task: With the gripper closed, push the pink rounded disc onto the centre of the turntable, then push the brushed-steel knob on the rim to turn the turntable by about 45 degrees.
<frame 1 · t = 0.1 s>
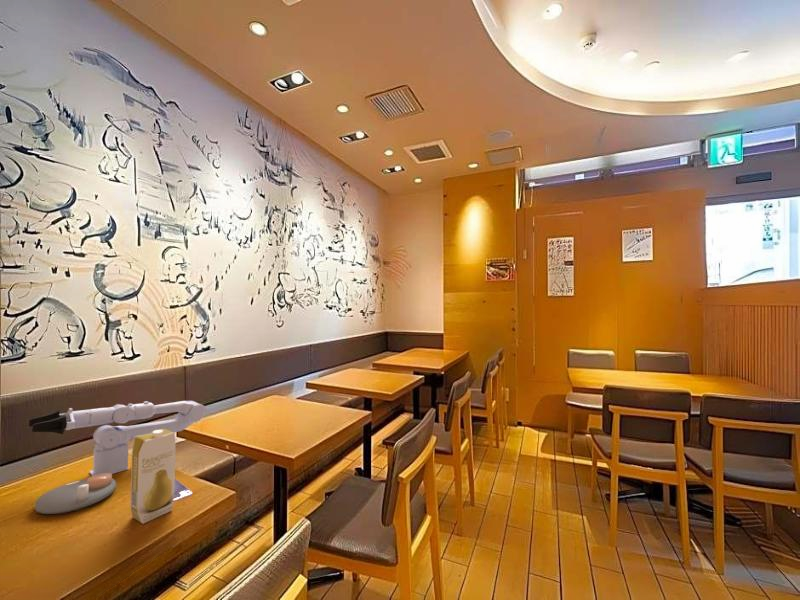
hand: (30, 425, 108), 22 cm above the table, tool horizontal, fingers open, 7 cm apart
mobile phone: (171, 492, 111), on the table
pink rounded disc: (99, 485, 109), point 2 cm above the table, touching turntable
juice carton: (152, 514, 98), on the table
turntable: (78, 487, 105), point 4 cm above the table, hinge at 0.0°, touching pink rounded disc
turntable base: (77, 499, 105), on the table
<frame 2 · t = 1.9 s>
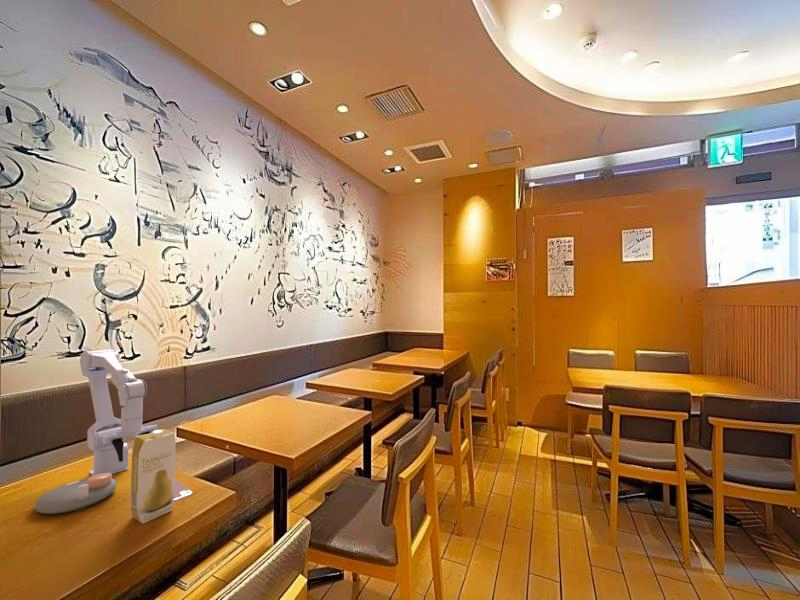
hand: (130, 458, 116), 8 cm above the table, tool pointing down, fingers open, 5 cm apart
nothing on the table moved.
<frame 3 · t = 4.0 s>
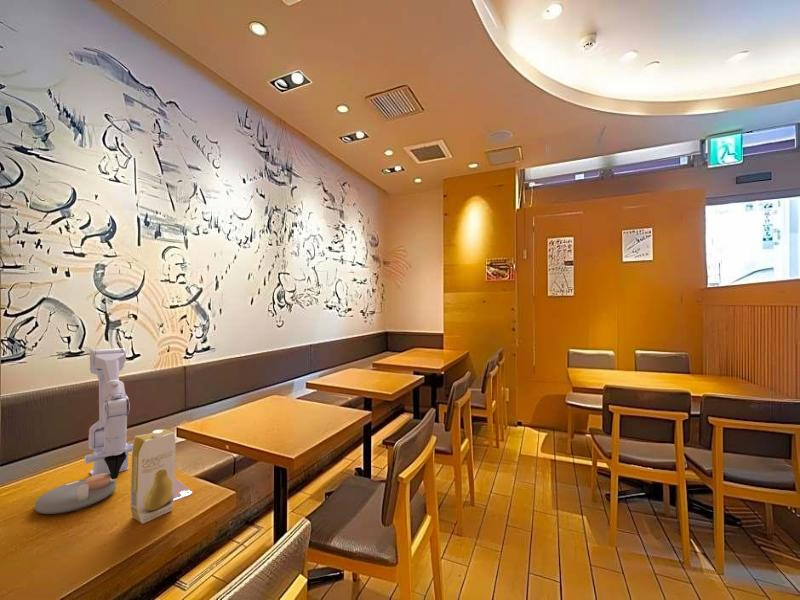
hand: (114, 477, 112), 3 cm above the table, tool pointing down, fingers closed
pink rounded disc: (97, 485, 109), point 3 cm above the table, touching gripper
turntable: (78, 487, 105), point 4 cm above the table, hinge at 0.0°
everything else where it was.
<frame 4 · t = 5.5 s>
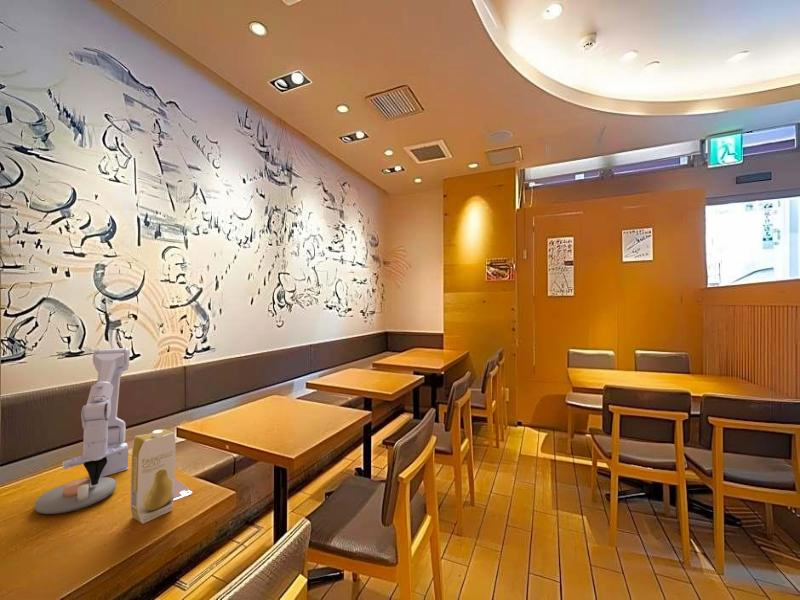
hand: (94, 483, 108), 3 cm above the table, tool pointing down, fingers closed
pink rounded disc: (76, 492, 105), point 2 cm above the table, touching gripper, turntable
turntable: (78, 487, 105), point 4 cm above the table, hinge at 0.0°, touching pink rounded disc
everything else where it was.
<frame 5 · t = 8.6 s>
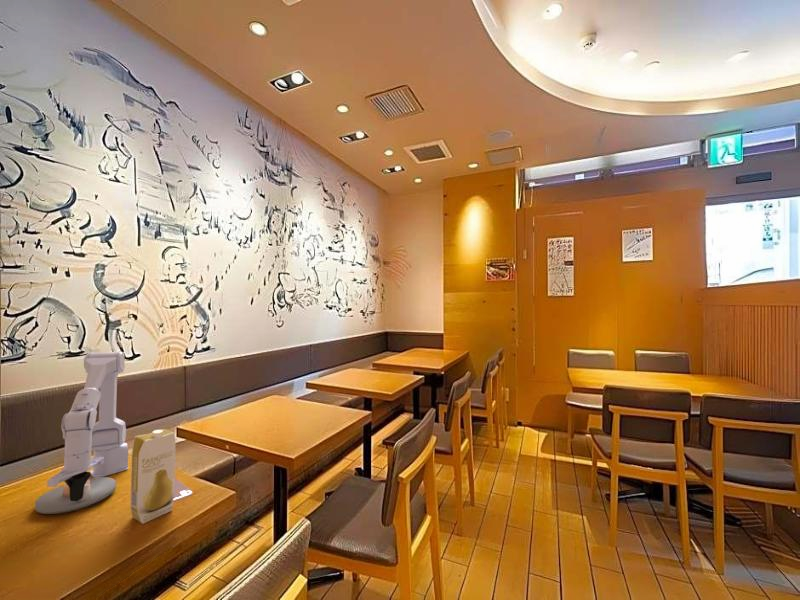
hand: (76, 499, 99), 3 cm above the table, tool pointing down, fingers closed, pressing on turntable
pink rounded disc: (76, 492, 105), point 2 cm above the table, touching turntable
turntable: (78, 487, 105), point 4 cm above the table, hinge at 2.9°, touching gripper, pink rounded disc
everything else where it was.
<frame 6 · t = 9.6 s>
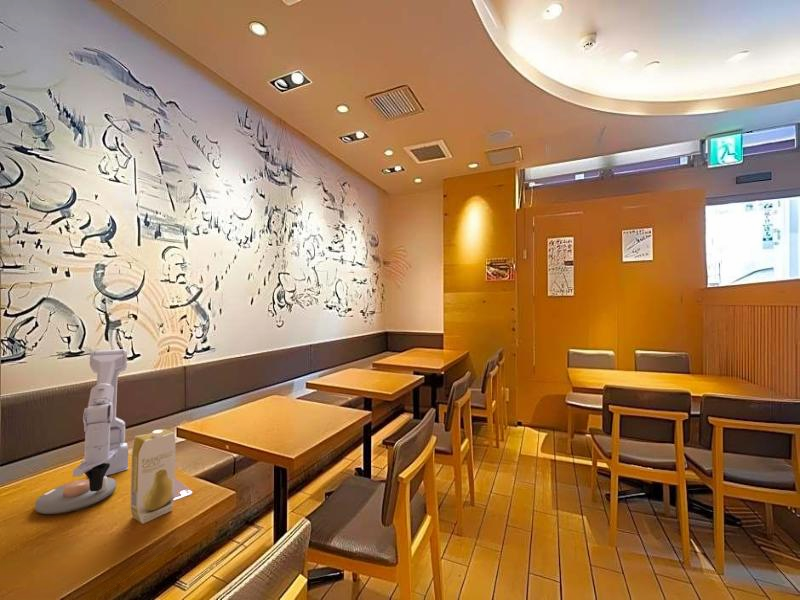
hand: (96, 490, 104), 4 cm above the table, tool pointing down, fingers closed, pressing on turntable
turntable: (78, 487, 105), point 4 cm above the table, hinge at 41.0°, touching gripper, pink rounded disc
everything else where it was.
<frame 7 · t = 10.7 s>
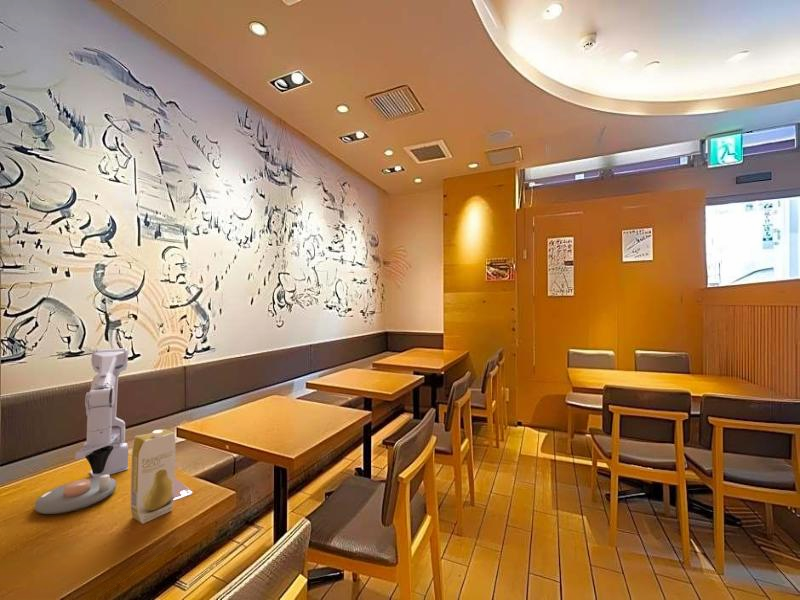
hand: (98, 472, 105), 8 cm above the table, tool pointing down, fingers closed
turntable: (78, 487, 105), point 4 cm above the table, hinge at 50.2°, touching pink rounded disc
everything else where it was.
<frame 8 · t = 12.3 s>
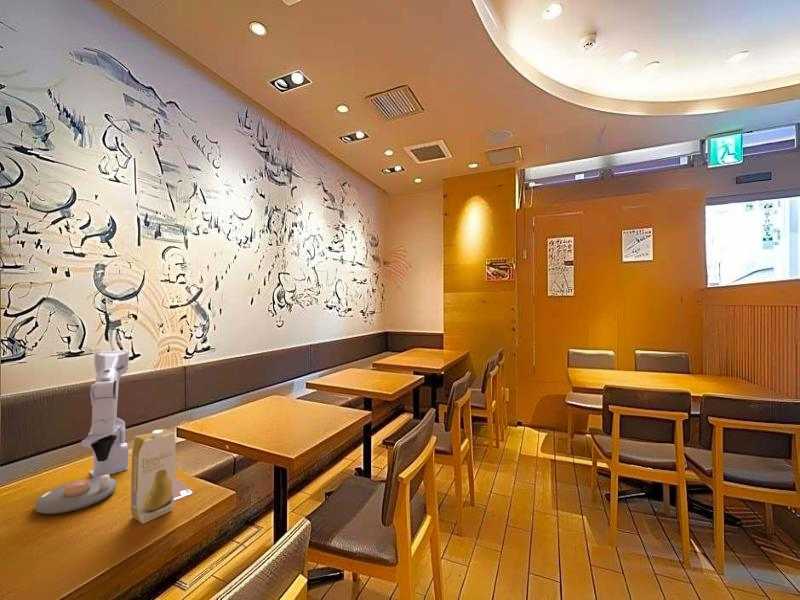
hand: (102, 460, 111), 9 cm above the table, tool pointing down, fingers closed
nothing on the table moved.
at the end: pink rounded disc 0.3 cm from the turntable (horizontally); turntable at +50° (first picture: +0°); pink rounded disc tilted 0° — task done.
